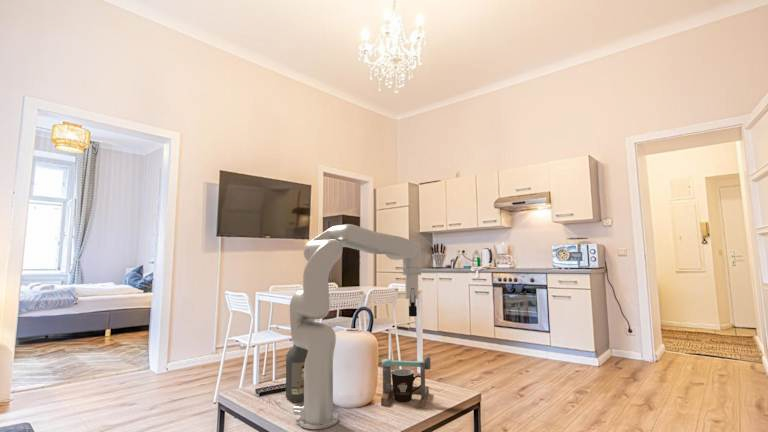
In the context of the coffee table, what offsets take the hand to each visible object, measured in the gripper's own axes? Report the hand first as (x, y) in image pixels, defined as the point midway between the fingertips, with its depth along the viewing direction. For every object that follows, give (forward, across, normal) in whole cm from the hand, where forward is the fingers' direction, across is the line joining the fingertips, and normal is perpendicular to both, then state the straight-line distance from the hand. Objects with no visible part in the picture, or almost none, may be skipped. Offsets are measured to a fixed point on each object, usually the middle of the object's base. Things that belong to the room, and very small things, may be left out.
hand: (412, 316), depth 163 cm
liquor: (+29, +10, -44) cm, 54 cm away
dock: (+29, +12, -3) cm, 31 cm away
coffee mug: (+29, +13, -3) cm, 32 cm away
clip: (+17, +12, -3) cm, 22 cm away
